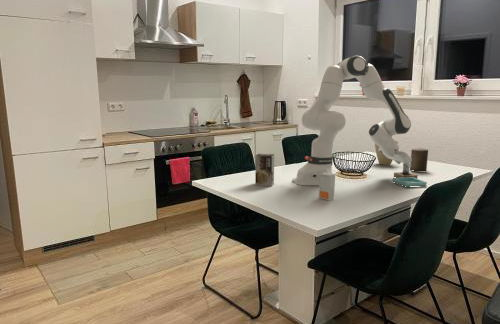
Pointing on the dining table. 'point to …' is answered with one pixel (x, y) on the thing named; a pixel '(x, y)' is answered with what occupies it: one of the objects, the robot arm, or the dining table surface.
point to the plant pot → (383, 156)
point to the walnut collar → (400, 175)
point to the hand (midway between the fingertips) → (404, 164)
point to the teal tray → (409, 181)
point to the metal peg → (405, 169)
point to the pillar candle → (419, 159)
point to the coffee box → (264, 169)
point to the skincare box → (326, 186)
